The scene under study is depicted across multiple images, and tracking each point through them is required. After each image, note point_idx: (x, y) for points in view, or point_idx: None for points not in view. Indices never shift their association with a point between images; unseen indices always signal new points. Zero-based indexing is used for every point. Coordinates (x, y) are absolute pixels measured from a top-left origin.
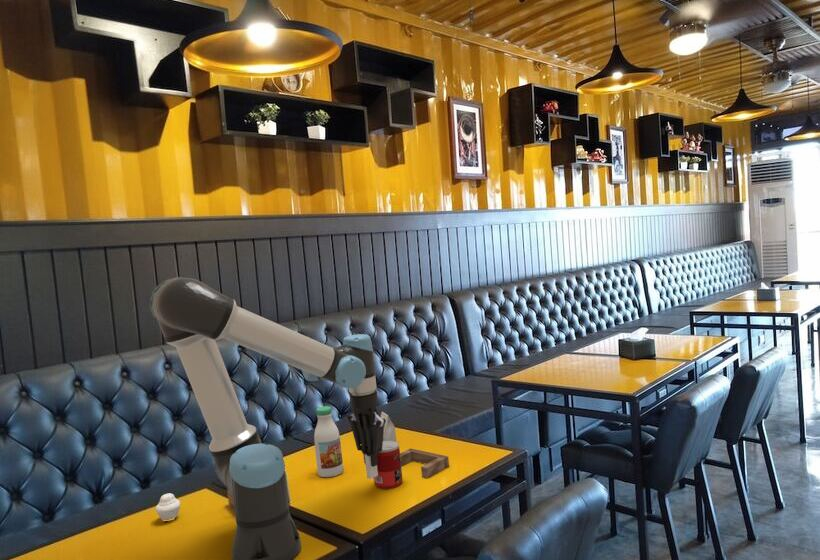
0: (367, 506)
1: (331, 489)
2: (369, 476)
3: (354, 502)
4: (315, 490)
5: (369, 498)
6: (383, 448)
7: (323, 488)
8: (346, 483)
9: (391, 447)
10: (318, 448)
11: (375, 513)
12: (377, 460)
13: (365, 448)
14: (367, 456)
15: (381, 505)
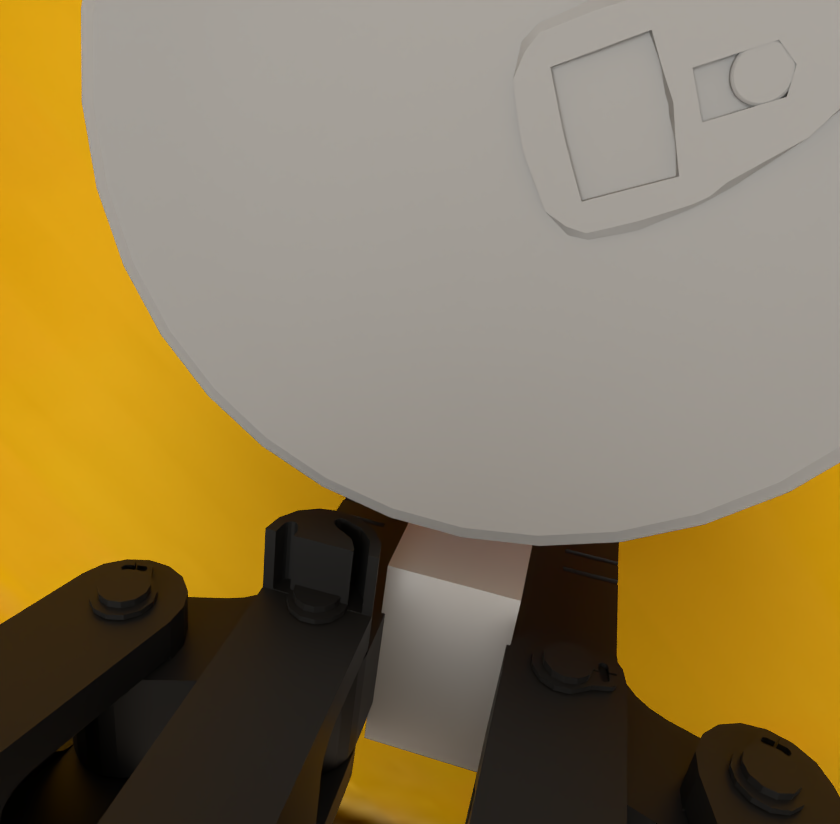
0: (668, 651)
1: (104, 437)
2: None
3: None
4: (8, 488)
5: None
6: (569, 296)
7: (29, 438)
8: (117, 277)
9: (815, 125)
10: None
11: (827, 746)
12: (617, 571)
13: (327, 821)
14: (455, 745)
15: (806, 613)
